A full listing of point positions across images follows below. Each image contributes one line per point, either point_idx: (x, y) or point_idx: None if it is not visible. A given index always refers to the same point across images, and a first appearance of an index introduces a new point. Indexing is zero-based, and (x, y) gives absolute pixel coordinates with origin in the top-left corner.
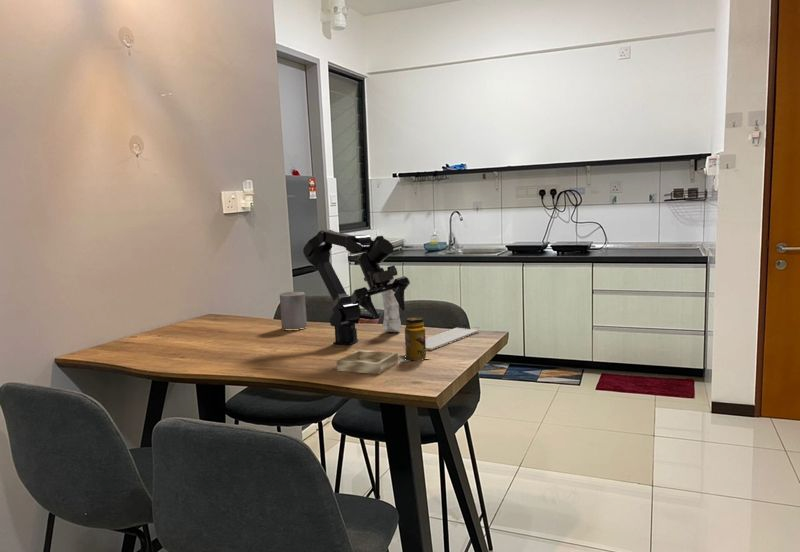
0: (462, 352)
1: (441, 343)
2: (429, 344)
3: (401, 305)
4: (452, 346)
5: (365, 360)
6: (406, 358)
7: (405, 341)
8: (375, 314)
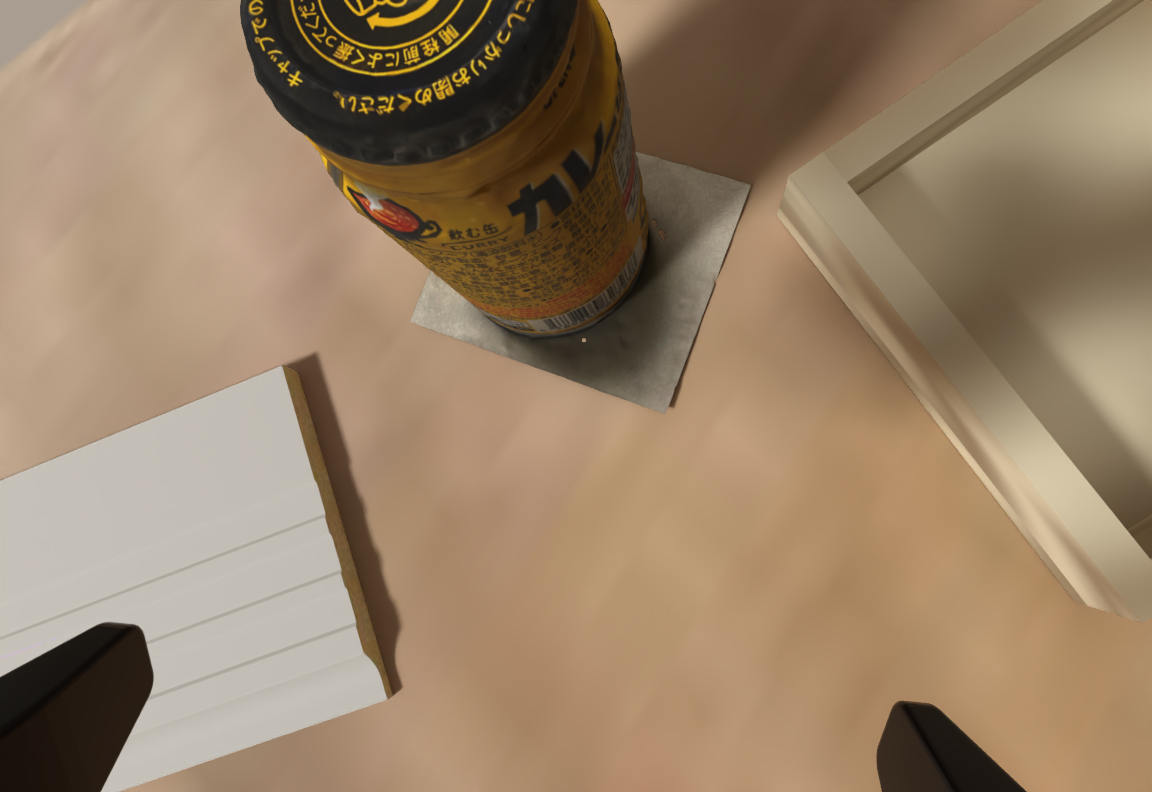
0: (147, 148)
1: (87, 464)
2: (189, 510)
3: (35, 759)
4: (57, 385)
5: (1082, 415)
6: (641, 268)
7: (625, 211)
8: (1015, 784)
